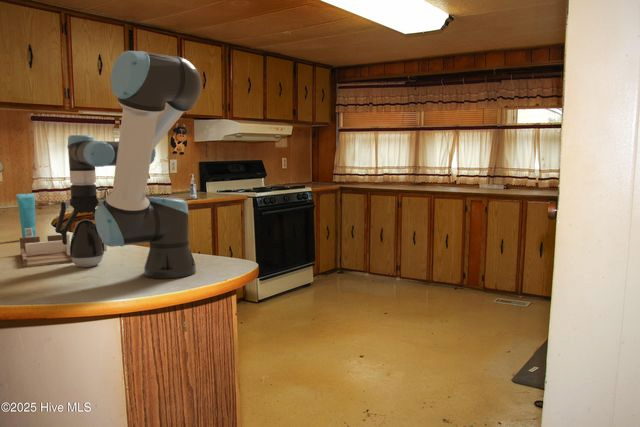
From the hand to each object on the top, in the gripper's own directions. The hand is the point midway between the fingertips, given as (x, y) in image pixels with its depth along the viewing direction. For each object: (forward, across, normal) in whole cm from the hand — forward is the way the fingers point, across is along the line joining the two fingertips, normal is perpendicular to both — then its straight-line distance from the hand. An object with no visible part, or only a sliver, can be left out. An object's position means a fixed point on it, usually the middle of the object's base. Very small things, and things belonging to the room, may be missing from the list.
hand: (87, 252), depth 170 cm
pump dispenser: (+5, 0, 0) cm, 5 cm away
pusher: (+3, +10, -27) cm, 29 cm away
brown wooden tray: (+4, +10, -20) cm, 23 cm away
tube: (+5, +14, -65) cm, 66 cm away
